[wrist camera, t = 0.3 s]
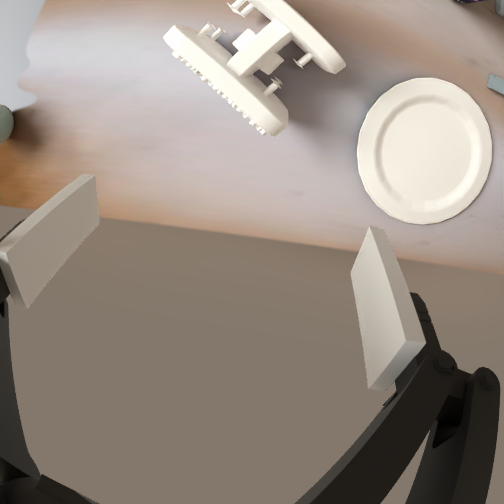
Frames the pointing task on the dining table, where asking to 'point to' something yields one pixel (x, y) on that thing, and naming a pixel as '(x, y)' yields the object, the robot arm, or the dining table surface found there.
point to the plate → (424, 151)
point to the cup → (5, 123)
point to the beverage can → (467, 1)
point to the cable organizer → (253, 59)
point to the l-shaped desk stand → (494, 82)
